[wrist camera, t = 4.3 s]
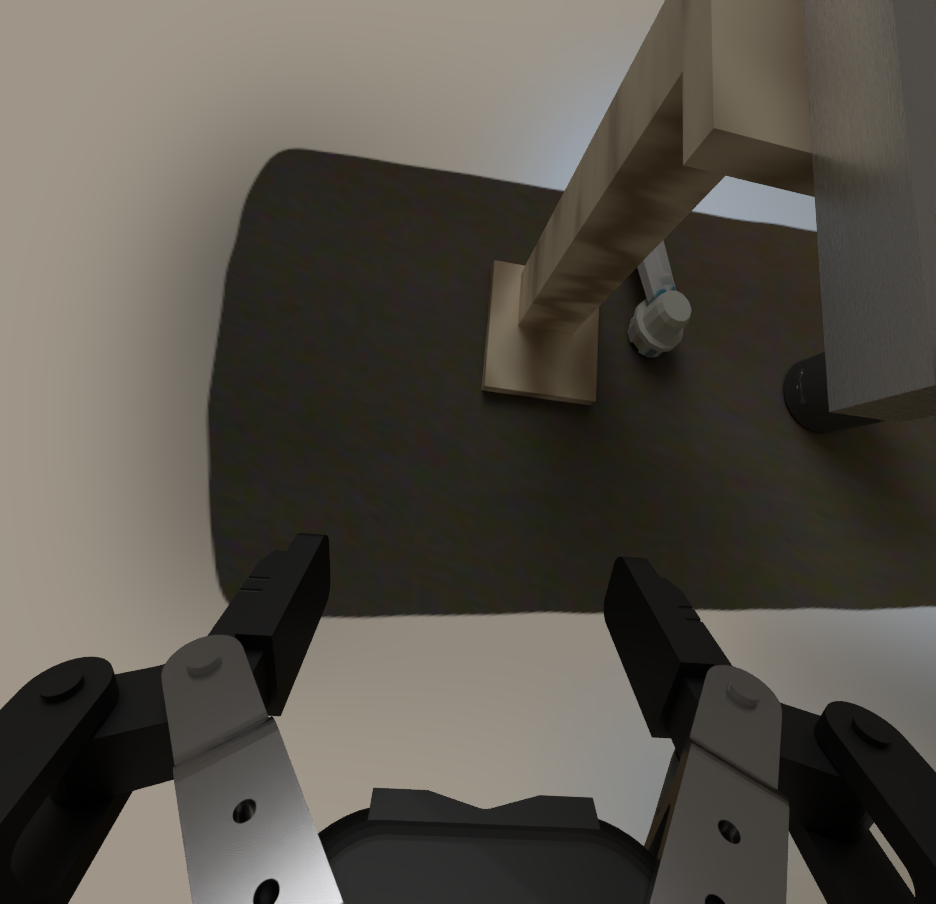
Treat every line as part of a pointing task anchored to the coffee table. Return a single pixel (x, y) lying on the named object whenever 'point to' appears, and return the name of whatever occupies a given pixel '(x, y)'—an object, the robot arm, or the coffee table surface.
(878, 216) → the grey long bar
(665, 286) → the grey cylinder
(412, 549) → the coffee table surface
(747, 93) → the birch stand
